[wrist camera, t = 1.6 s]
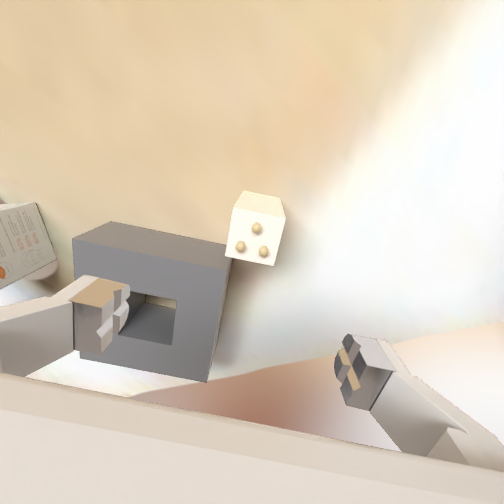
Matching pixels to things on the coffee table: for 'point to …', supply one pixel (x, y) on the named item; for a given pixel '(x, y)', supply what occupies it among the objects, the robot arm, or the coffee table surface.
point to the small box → (22, 242)
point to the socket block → (162, 285)
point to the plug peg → (255, 228)
